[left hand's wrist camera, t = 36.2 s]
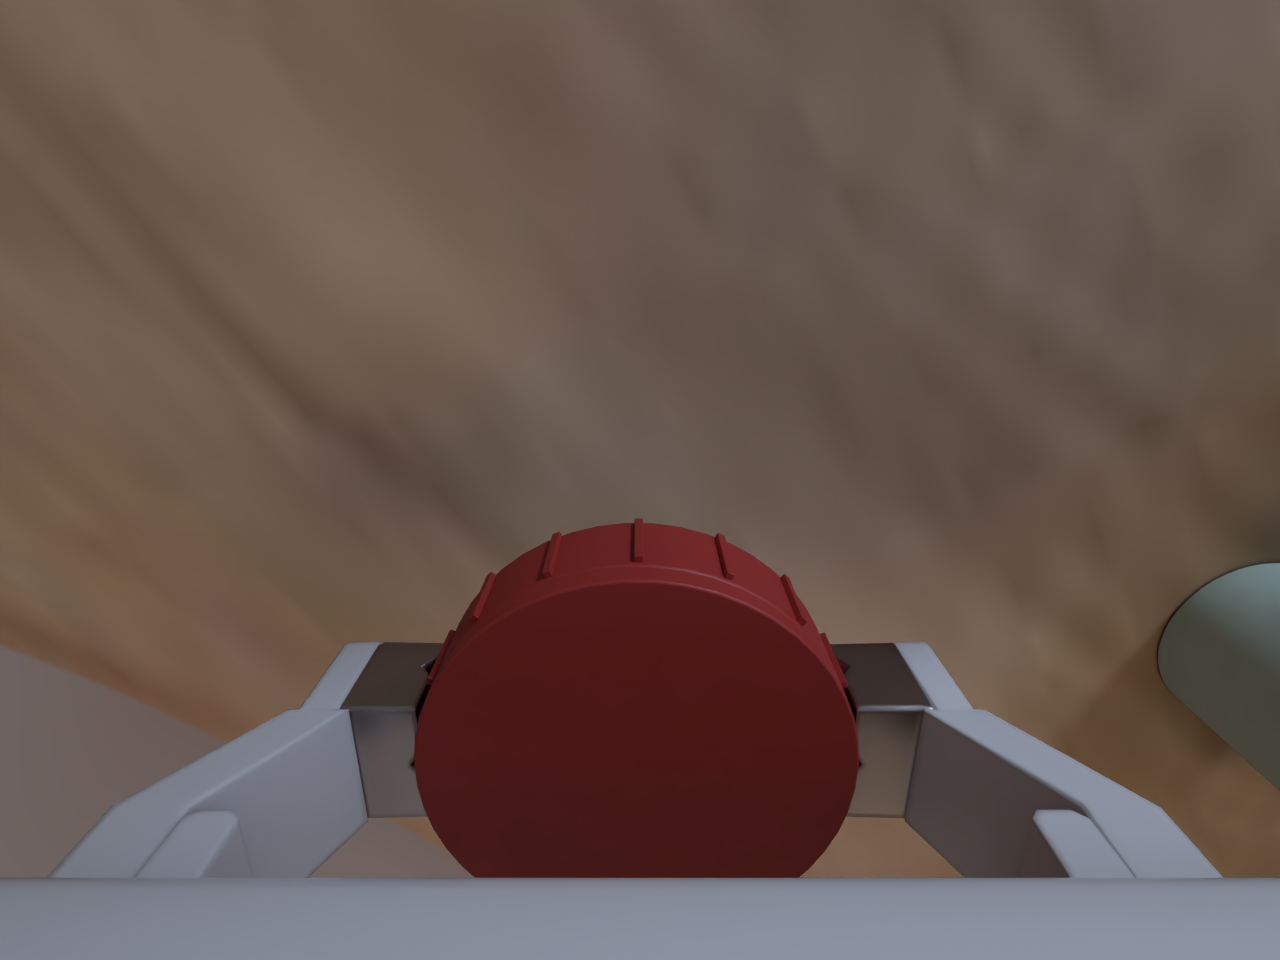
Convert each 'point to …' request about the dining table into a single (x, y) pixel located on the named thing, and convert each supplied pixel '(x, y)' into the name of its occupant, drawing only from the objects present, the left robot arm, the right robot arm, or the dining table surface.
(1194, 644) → the jar
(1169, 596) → the dining table surface
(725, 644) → the lid
